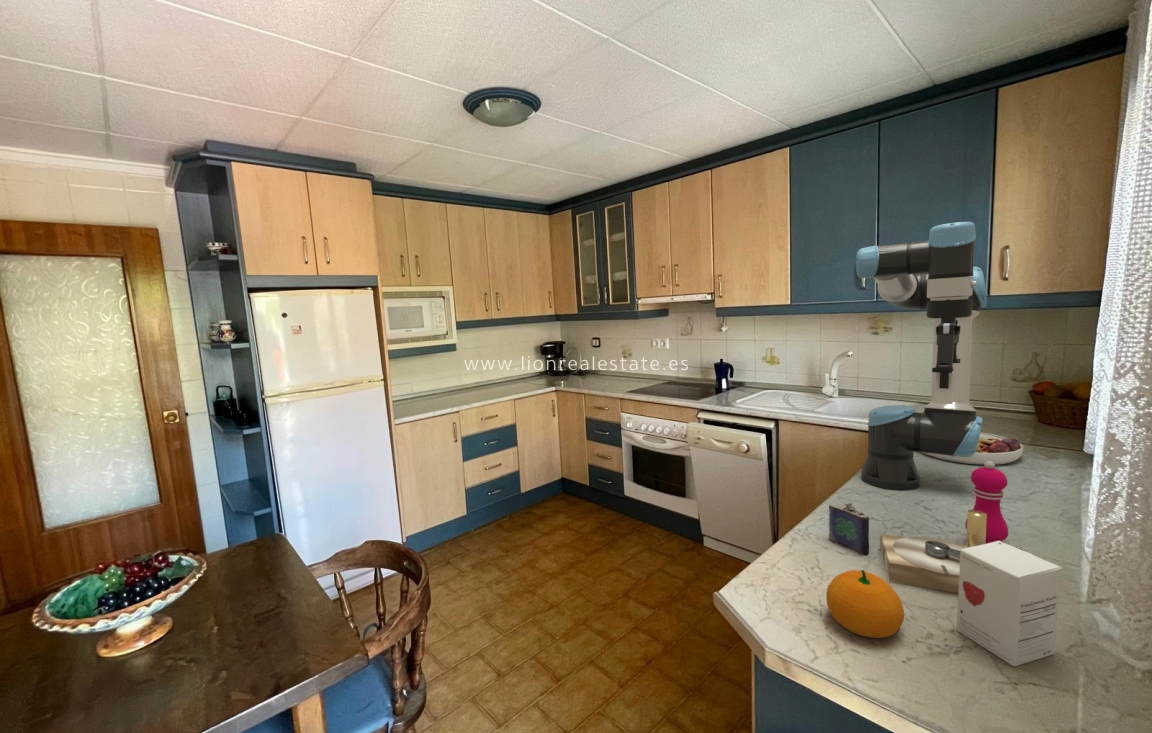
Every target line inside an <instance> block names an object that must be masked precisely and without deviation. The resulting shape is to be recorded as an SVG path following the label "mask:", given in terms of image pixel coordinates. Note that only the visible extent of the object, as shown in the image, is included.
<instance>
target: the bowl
mask: <svg viewBox="0 0 1152 733" xmlns="http://www.w3.org/2000/svg"><path fill="white" fill-rule="evenodd" d="M1023 452H1024V446H1023V444H1022V443H1021V442H1020V441H1019V440H1017V439H1016V438H1012V437H1005V436H1001V435H997V434H992V433H987V432H980V437H979V442H978V446H977V449H976V452H975V454H974V455H973V456H971V457H959V456H954V457H952V456H949V455H940V454H932V453H924V452H922V453H923V454H925V455H927V456H929V457H931V458H936V459H937V460H943V461H947V462H952V463H959V464H967V465H975V466H976V465H977V466H978V465H979V466H984V463H985V462H986V461H991V462H993V463H994V464H995V466H998V465H1003V464H1004V465H1005V464H1010V463H1012V462H1015V461H1017V460H1018V459H1020V458H1021V457H1022V455H1023Z"/></svg>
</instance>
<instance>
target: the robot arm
mask: <svg viewBox="0 0 1152 733" xmlns="http://www.w3.org/2000/svg"><path fill="white" fill-rule="evenodd" d="M976 239H977V235H976V225H975V223H974V222H972V221H958V222H957V221H956V222H950V223H949V222H948V223H943V224H938V225H935V226H933V227H932V228H930V230H929V236H928V239H927V240H917V241H910V242H901V243H891V244H882V245H872V246H866V247H862V248H860V249H859V250H858V251H857V253H856V258H855V261H856V262H855V269H856V274H857V275H856V276H858V278H859V279H874V281H875V283H877V293H878V295H879V296H880V298H881V299H882V300H883V301H885V302H887V303H888V304H890V305H893V306H895V307H897V308H898V307H899V308H903V309H906V310H926V317H927V318H928V319H932V320H933V322H934V323H933V344H932V345H933V346H932V347H933V348H932V365H931V366H932V367H931V368H932V369H931V390H930V391H931V393H930V394H931V397H930V401H929V403H928V404H926V405H924V407H923V408H924V409H923V410H924V411H923V412H916V409H915V407H914V406H911V405H903V404H902V405H900V404H899V405H883V406H879V407H875V408H873V409H871V410H870V412H869V414H868V422H867V426H868V427H867V429H868V430H867V431H868V434H867V435H868V436H867V437H868V439H867V456H866V457H865V459H864V460H865V461H864V463H863V465H862V467H861V470H860V478H861V480H862V481H863V482H864V483H867V484H869V485H871V486H874V487H878V488H882V489H886V490H896V491H907V490H913V489H914V490H916V489H918V488H919V487H920V485H921V476H920V474H919V471H918V469H917V466H916V463H915V460H914V453H915V452H916V453H917V452H918V453H923V452H924V453H932V454H940V455H949V456H952V457H954V456H959V457H971V456H973V455H974V454H975V452H976V449H977V446H978V442H979V437H980V432H981V431H982V424H983V420H984V419H983V418H982V416H979V415H977V409H976V408H974V407H973V406H972V405H971V404H970V395H971V394H970V393H971V392H970V389H971V364H972V363H971V362H972V361H971V360H972V342H973V340H972V337H973V335H972V334H973V319H974V318H977V317H978V316H979V314H980V312H981V311H980V309H981V308H985V307H987V303H988V300H987V299H988V297H987V288H986V283H985V282H986V281H985V277H984V272H983V270H982V269H981V268H980V267H979V266H975V265H974V264H975V251H976ZM924 453H923V454H924Z"/></svg>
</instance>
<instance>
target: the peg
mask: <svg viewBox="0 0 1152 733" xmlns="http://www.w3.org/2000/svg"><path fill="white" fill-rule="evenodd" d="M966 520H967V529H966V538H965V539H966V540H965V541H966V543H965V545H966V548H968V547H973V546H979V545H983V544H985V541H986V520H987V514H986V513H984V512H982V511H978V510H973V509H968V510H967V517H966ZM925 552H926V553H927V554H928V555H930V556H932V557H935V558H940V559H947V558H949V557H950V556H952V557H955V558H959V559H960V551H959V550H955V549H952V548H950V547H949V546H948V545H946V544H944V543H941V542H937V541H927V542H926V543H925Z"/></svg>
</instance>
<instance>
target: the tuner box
mask: <svg viewBox="0 0 1152 733" xmlns="http://www.w3.org/2000/svg"><path fill="white" fill-rule="evenodd" d="M927 541H937V542H941V543H944V544H946V545H948V546H949V547H950V548H952V549H955V550H959V551H960V550H961V549H964V548H966V544H961V543H954V542H951V541H946V540H943V539H938V538H934V537H925V536H901V535H893V534H886V533H880V545H879V546H880V553H881V558H882V562H883V564H884V565H883V566H884V568H885V571H886V574H887V578H888V582H889V583H891V582H892V583H897V584H902V585H909V586H915V587H920V588H927V589H932V590H937V591H942V592H949V593H955V594H958V593H959V572H960V559H959V558H955V557H952V556H950V557H949V558H947V559H940V558H935V557H932V556H930V555H928V554H927V553H926V552H925V543H926V542H927Z"/></svg>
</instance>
